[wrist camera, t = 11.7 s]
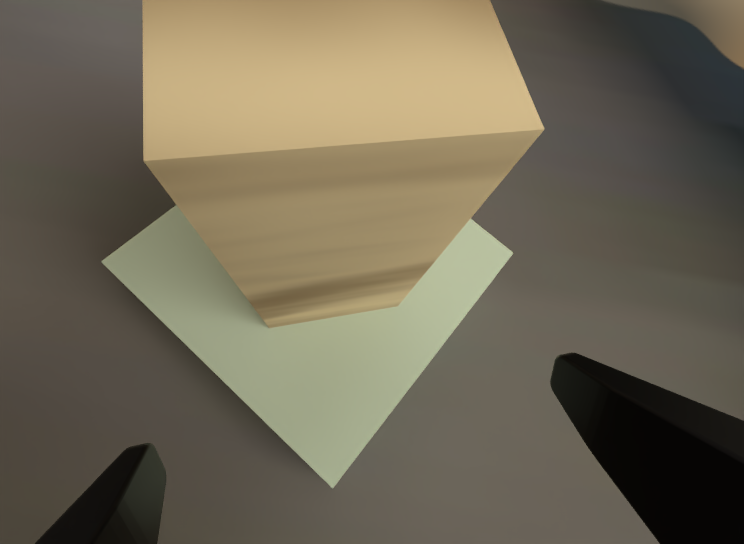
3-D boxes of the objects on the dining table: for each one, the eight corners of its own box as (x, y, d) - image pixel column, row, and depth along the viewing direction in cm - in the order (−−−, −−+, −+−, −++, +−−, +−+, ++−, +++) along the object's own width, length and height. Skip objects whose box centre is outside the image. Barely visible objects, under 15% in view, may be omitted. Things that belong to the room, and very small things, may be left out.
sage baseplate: (331, 477, 16) (332, 488, 14) (124, 276, 18) (100, 261, 16) (496, 266, 21) (513, 253, 19) (319, 122, 22) (319, 97, 21)
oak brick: (397, 306, 17) (544, 129, 6) (269, 328, 16) (143, 161, 5) (372, 197, 19) (448, -99, 8) (255, 209, 18) (141, -115, 7)
